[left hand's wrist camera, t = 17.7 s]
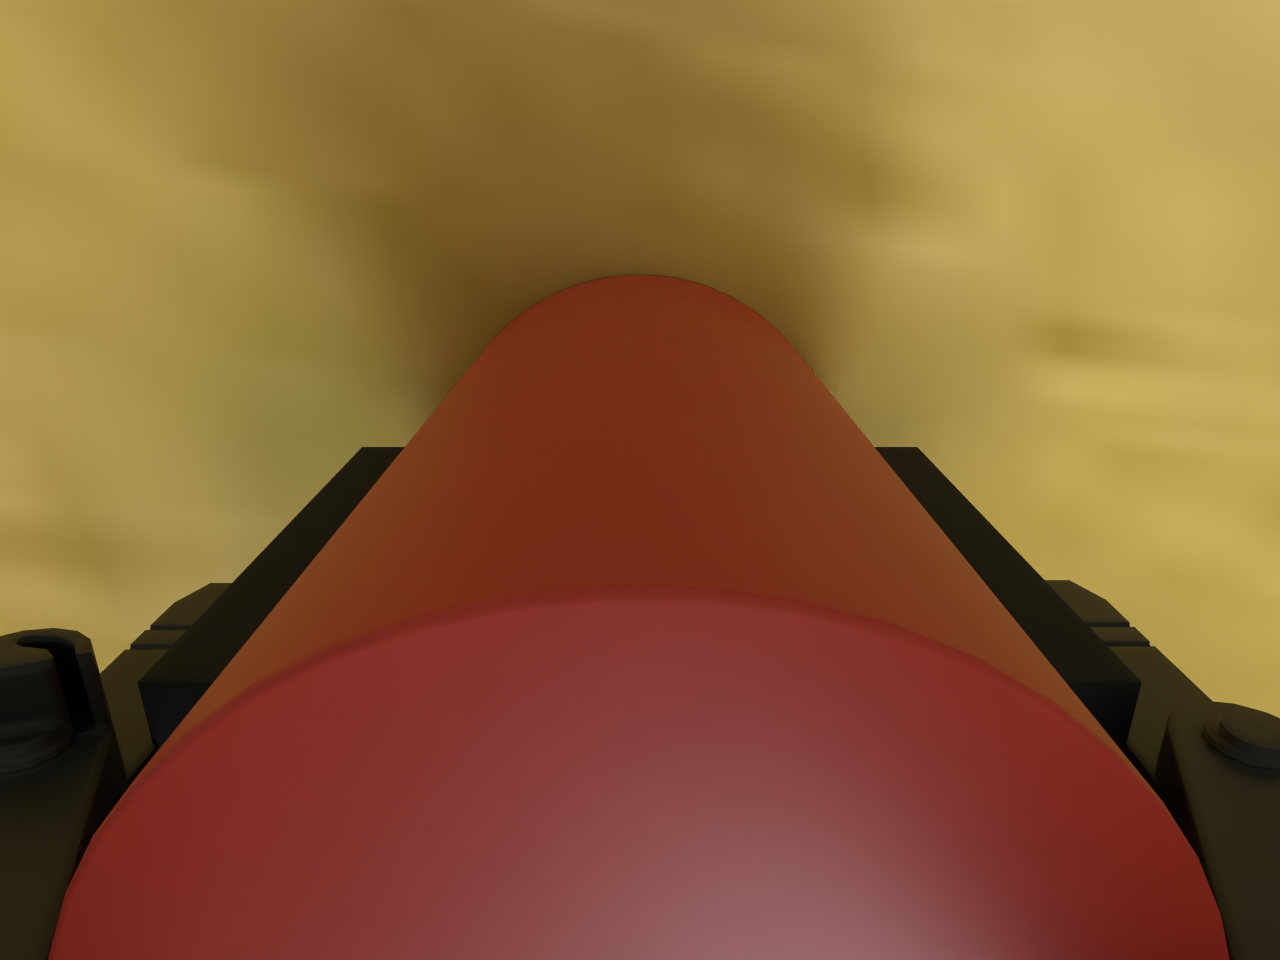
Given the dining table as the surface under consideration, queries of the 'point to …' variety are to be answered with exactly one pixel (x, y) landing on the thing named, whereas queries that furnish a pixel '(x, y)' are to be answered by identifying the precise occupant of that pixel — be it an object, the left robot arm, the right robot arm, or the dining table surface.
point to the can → (639, 701)
